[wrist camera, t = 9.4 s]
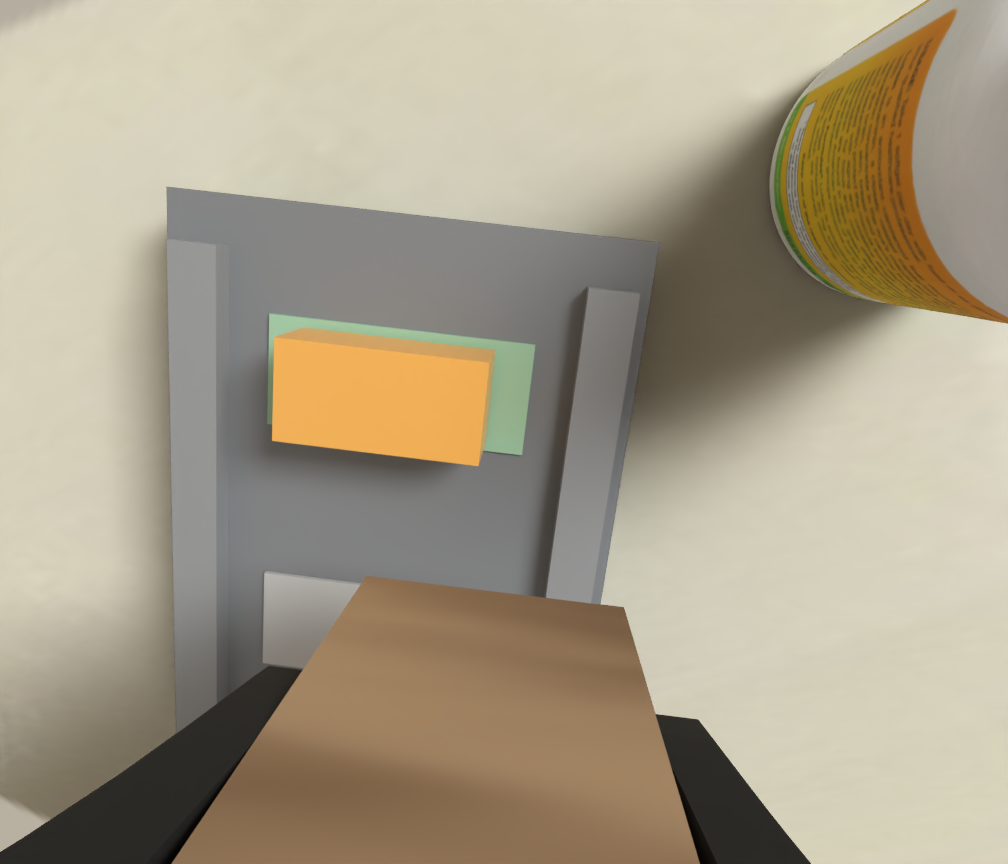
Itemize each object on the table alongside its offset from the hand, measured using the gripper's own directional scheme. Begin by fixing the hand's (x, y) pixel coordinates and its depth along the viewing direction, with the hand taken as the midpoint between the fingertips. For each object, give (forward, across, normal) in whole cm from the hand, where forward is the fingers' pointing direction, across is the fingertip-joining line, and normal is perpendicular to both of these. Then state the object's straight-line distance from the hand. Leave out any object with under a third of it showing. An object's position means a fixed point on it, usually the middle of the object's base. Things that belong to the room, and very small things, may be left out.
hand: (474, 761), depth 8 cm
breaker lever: (+7, +3, -3) cm, 8 cm away
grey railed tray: (+9, +3, 0) cm, 10 cm away
